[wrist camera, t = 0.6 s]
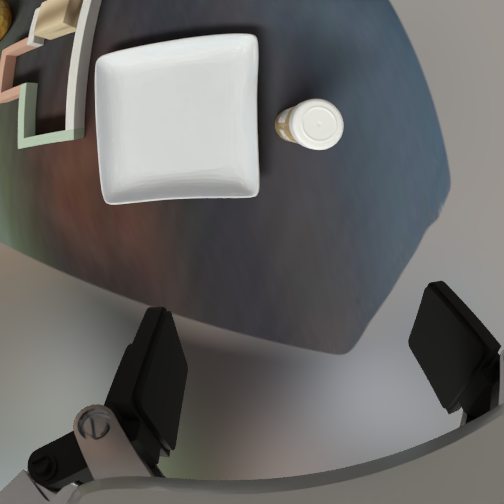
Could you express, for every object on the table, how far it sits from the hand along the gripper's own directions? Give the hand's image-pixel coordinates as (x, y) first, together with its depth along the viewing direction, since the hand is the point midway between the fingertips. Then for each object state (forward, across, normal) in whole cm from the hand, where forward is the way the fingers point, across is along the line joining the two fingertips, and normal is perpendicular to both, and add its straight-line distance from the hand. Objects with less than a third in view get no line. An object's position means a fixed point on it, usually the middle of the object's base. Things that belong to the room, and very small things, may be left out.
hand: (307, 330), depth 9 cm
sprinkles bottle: (+30, -4, -7) cm, 31 cm away
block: (+30, +27, -31) cm, 51 cm away
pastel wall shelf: (+29, +32, -22) cm, 49 cm away
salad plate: (+30, +10, -9) cm, 33 cm away
